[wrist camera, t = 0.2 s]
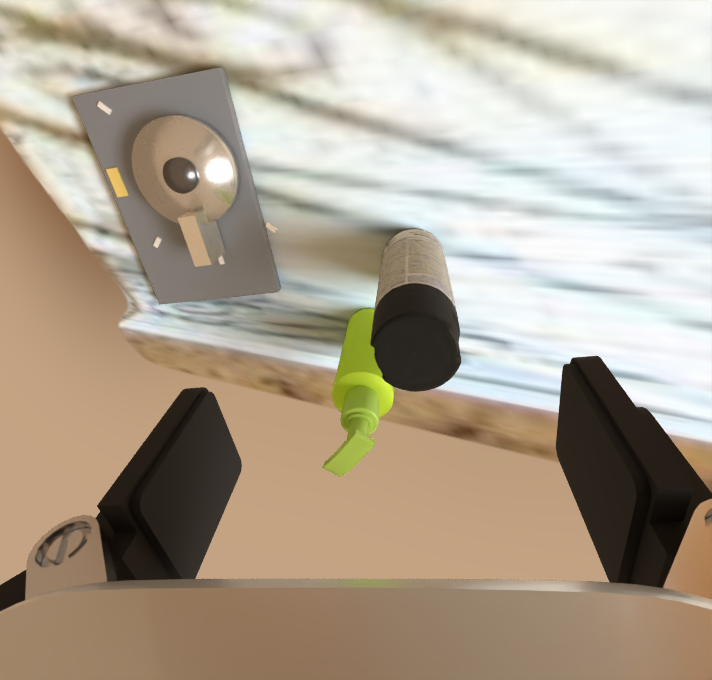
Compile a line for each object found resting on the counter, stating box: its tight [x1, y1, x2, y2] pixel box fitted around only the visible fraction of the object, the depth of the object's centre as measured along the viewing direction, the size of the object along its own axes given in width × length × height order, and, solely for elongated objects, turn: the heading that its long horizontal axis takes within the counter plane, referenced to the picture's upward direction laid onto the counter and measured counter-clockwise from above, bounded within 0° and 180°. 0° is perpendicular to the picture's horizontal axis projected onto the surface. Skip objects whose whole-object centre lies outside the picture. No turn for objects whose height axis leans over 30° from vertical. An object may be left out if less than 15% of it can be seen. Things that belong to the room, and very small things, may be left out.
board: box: [72, 68, 281, 304], centre depth 45 cm, size 22×17×1 cm
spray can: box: [370, 229, 461, 392], centre depth 38 cm, size 7×7×20 cm
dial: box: [132, 115, 241, 267], centre depth 42 cm, size 14×10×4 cm
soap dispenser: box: [323, 308, 394, 477], centre depth 43 cm, size 6×7×20 cm
